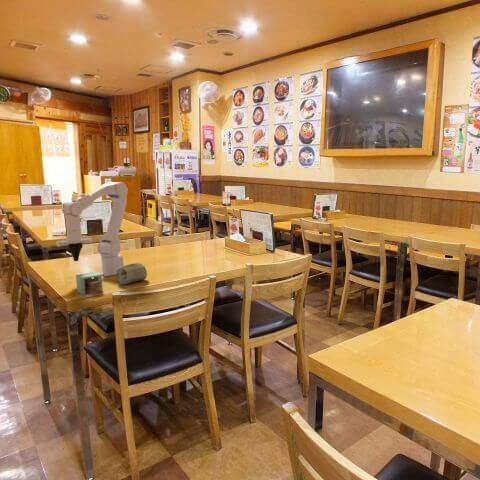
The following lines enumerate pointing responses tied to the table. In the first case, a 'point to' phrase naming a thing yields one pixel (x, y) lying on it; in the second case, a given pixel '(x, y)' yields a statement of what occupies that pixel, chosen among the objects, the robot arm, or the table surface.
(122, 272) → the spool
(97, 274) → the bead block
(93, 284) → the tall brown box
